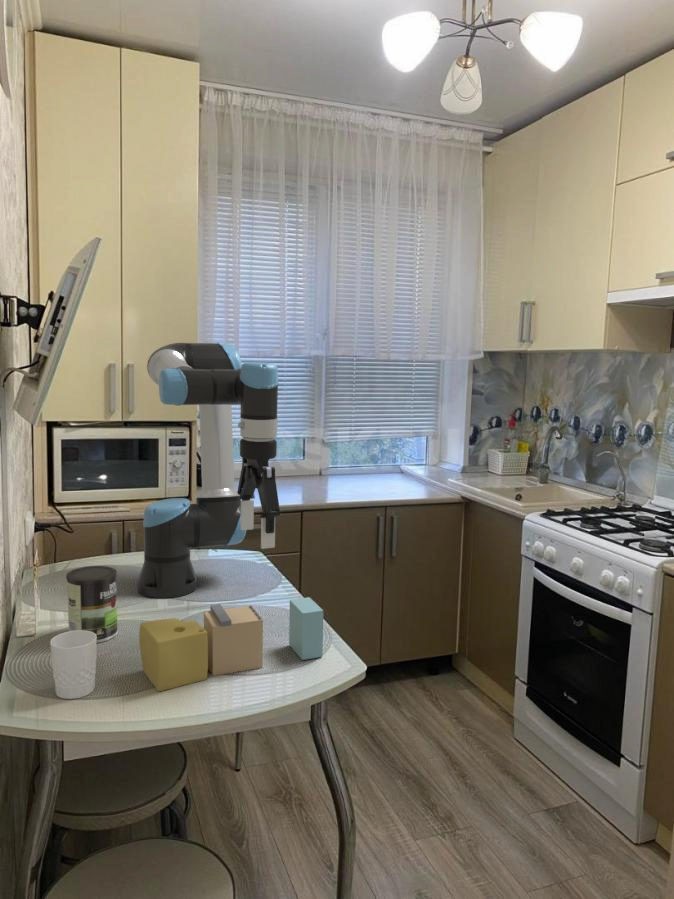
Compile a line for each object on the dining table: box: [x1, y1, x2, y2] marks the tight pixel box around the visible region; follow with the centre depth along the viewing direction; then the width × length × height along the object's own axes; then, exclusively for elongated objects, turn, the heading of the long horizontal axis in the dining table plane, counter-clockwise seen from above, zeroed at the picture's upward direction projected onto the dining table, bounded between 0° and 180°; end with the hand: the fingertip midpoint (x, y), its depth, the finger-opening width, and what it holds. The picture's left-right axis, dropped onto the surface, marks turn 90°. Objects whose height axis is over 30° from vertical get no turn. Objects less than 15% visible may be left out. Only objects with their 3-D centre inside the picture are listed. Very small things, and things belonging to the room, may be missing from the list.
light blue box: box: [288, 596, 324, 661], centre depth 143 cm, size 8×4×10 cm, turn 23°
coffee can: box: [65, 565, 119, 644], centre depth 149 cm, size 10×10×14 cm
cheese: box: [138, 617, 209, 692], centre depth 131 cm, size 10×11×10 cm
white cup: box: [50, 630, 98, 700], centre depth 124 cm, size 8×8×10 cm
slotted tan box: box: [203, 603, 264, 677], centre depth 137 cm, size 9×10×11 cm
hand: (257, 538), depth 143 cm, fingers open, 13 cm apart
